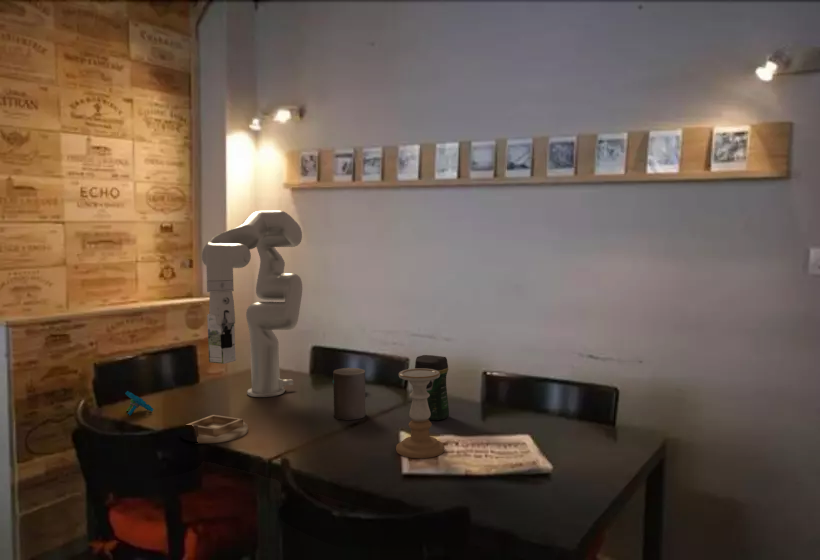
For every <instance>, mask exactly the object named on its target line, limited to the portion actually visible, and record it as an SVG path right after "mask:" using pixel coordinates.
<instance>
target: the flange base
mask: <svg viewBox="0 0 820 560" xmlns="http://www.w3.org/2000/svg"><path fill="white" fill-rule="evenodd" d="M185 425H192V426H193V427H194V429H195V431H196V436H197V442H198V443H197V444H217V443H224V442H228V441H229V442H230V441H232V440H237V439H239V438H241V437H243V436H245V435H246V434H247V433H248V432H249V425H248V424H247V422H244V418H238V417H231V416H227V415H226V416H224V415H220V414H219V415H218V414H211V415H209V416H206V417H203V418H201V419H197V420H195V421H192V422H190V423H187V424H185Z"/></svg>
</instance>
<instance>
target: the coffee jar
mask: <svg viewBox="0 0 820 560" xmlns="http://www.w3.org/2000/svg"><path fill="white" fill-rule="evenodd" d="M414 363H415V364H414V369H416V368H425V369H433V370H437V371H439V372H440V377H439V378H437V379H434V380H430V382H429V384H428V385H427V387H426V390H427V392H428V393H429V394H430V396H429V397H428V398H427V401H428V406H429V409H430V412H431V416H430V417H429V419H428V420H429V421H439V420H445V419H447V418H448V417H449V415H450V408H449V407H450V406H449V401H448V400H449V398H448V389H447V374H448V371H449V364H448V359H447V357H446V356H439V355H432V354H431V355H430V354H423V355H419V356H417V357H416V358H415V362H414Z"/></svg>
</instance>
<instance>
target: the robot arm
mask: <svg viewBox="0 0 820 560" xmlns="http://www.w3.org/2000/svg"><path fill="white" fill-rule="evenodd" d="M302 238H303V232H302V229H301V227H300V225H299V224H298V222H297V221H296V220H295V219H294V218H293V217H292V216H291V215H290V214H288V212H286V211H284V210H258V211H254V212H252V213H250V215H248V217H247V218H246V219H244V220H243V222H242V223H240V225H239V226H237V227H233V228H231V229H228V230H226V231H223V232H221V233H219V234H216V235H214V236H213V237H211V239H210V240H209V241H207V243H206V244H205V245H204V247H203V249H202V250H201V251H202V252H201V260H202V262H203V265H205V267H206V292H207V293H209V301H208V302H209V304H208V305H209V306H208V310H209V313H208V314H211V313H212V314H214V315H215V318H216V323H217V325H219V326H220V328H221V333H222V334H221V348H231V347H232V325H234V324H236V316H235V315H236V314H235V313H236V312H235V302H234V301H235V300H234V294H233V292H234V269H243V268H245V267H246V266H247V265H248V264H249V263H250V262H251V258H252V257H251V255H252V254H251V253H252V252H251V250H253V249H256V250H257V253H258V256H259V261H260V262H259V269H258V274H257V279H256V280H257V281H256V286H255V294H256V296H257V298H259V300H263V301H256V302H253V303H251V304H250V305H249V306H248V307H247V309H246V314H245V315H246V316H245V317H246V323H247V326H248V327H247V328H248V332H249V344H250V345H249V348H250V376H251V378H250V379H251V388H248V389H247V391H246V394H247V395H248V396H249V397H253V398H270V397H277V396H280V395H282V394H284V393H285V388H284V387H286V386H293V385H294V380H293V379H291V378H289V379H287V378H286V379H285V378H284V379H282V378H280V347H279V340H278V337H277V335H276V334H275V332H273V331H274V330H276V331H278V330H279V331H290V330H293V329H295V328H296V327H297V325H298V322H299V315H300V310H301V302H302V296H303V282H302V278H301V277H300V275H298V274H296V273H292V272H285V265H286V264H285V263H286V261H285V260H284V258H283V256H282V255H281V254H280V252H279V251H278V250H277V249H276V248H293V247H294V248H295V247H298V246H299V245H300V244H301V242H302V240H303V239H302ZM224 317H225V322H226V323H225V324H222V321H223V319H224ZM224 327H225V328H224Z"/></svg>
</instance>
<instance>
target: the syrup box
mask: <svg viewBox="0 0 820 560" xmlns="http://www.w3.org/2000/svg"><path fill="white" fill-rule="evenodd" d="M206 318H207V342H208V343H207V344H208V363H213V364H229V363H233V362H235V361H236V360H237V357H236V355H237V354H236V333H235V331H236V329H235V328H236V327H235V326H236V325H235V324H236V323H235V324H234V325H232V347H231V348H221V334H222V333H221V328H220V326H219V325H217V323H216V318H215V315H214V314H212V313H211V314H209V313H208V314H207V316H206ZM225 323H226V322H225V317H224V319H223V321H222V324H225ZM224 328H225V327H224Z"/></svg>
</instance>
